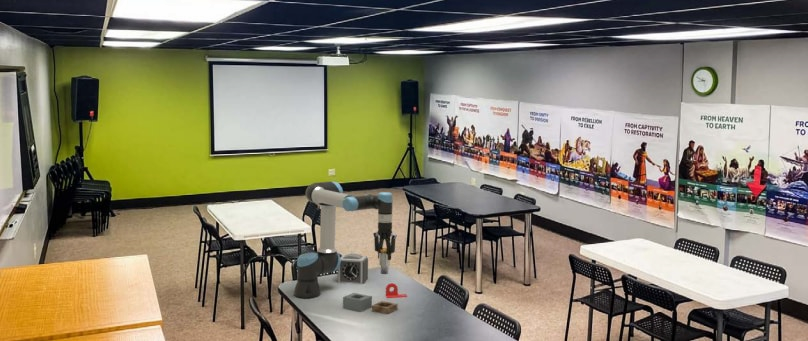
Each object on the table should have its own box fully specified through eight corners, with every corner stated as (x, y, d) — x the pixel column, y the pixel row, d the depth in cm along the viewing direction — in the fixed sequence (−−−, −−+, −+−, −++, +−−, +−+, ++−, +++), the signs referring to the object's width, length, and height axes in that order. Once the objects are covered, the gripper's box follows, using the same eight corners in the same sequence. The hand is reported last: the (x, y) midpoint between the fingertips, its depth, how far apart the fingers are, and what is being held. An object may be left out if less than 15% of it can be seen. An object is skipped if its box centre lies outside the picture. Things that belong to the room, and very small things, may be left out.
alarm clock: (335, 285, 387) (335, 256, 386) (341, 280, 400) (341, 251, 399) (364, 287, 384) (364, 257, 383) (369, 282, 397) (369, 253, 396)
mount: (371, 311, 337) (371, 305, 337) (381, 306, 346) (382, 301, 345) (387, 314, 332) (387, 308, 332) (397, 309, 340) (397, 303, 340)
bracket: (387, 299, 360) (387, 285, 360) (385, 296, 365) (385, 283, 364) (407, 298, 363) (407, 284, 362) (405, 295, 367) (406, 282, 367)
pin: (378, 273, 337) (378, 249, 335) (383, 271, 340) (383, 247, 339) (385, 274, 334) (386, 250, 333) (390, 273, 338) (390, 248, 337)
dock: (342, 307, 342) (343, 297, 341) (353, 303, 350) (353, 292, 350) (361, 311, 336) (361, 300, 335) (371, 307, 344) (371, 296, 344)
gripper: (368, 221, 336) (367, 264, 338) (394, 224, 328) (394, 268, 330) (375, 219, 343) (375, 261, 344) (402, 222, 334) (401, 266, 336)
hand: (384, 265), depth 337 cm, fingers closed on pin, 4 cm apart
